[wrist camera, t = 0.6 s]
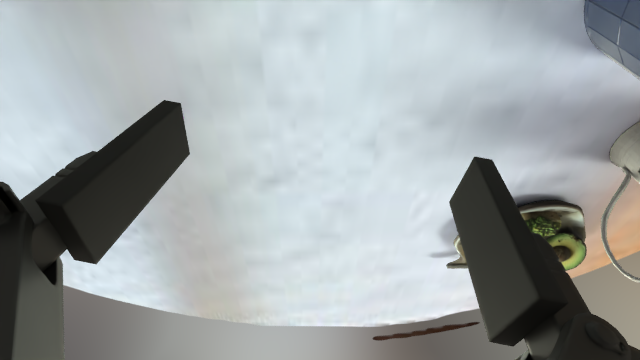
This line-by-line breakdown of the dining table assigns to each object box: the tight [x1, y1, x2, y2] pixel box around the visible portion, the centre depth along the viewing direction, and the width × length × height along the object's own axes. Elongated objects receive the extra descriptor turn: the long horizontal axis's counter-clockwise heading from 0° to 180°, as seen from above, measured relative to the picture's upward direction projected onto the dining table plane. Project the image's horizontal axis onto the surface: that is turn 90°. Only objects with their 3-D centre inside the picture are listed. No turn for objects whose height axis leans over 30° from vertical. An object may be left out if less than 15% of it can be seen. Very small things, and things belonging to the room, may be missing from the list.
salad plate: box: [446, 200, 586, 270], centre depth 45 cm, size 19×18×5 cm
